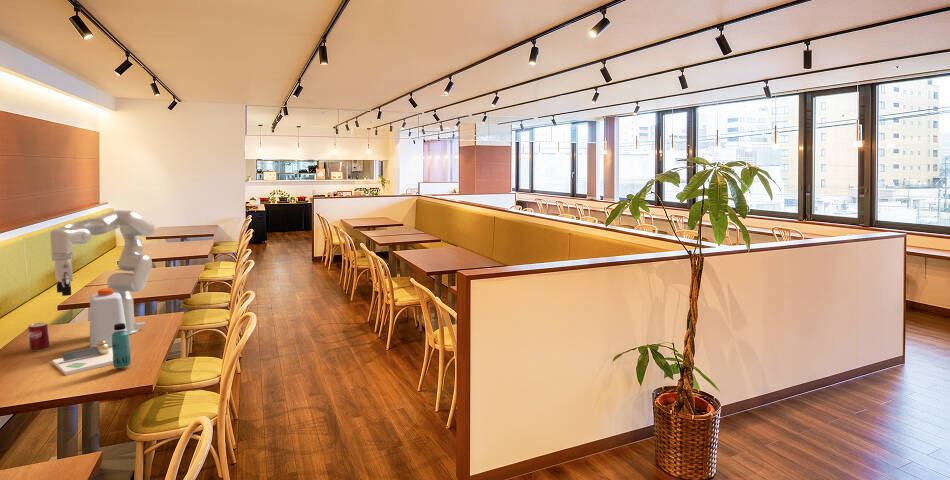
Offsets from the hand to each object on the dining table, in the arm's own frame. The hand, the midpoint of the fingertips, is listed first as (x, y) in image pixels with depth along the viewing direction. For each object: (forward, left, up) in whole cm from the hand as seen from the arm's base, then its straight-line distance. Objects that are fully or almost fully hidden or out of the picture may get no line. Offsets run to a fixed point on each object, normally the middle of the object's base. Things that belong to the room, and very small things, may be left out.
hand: (64, 293), depth 242 cm
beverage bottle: (-10, +37, -29) cm, 48 cm away
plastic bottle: (-16, 0, -29) cm, 33 cm away
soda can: (+7, -18, -29) cm, 35 cm away
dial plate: (-3, +18, -29) cm, 34 cm away
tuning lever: (-3, +15, -27) cm, 31 cm away
